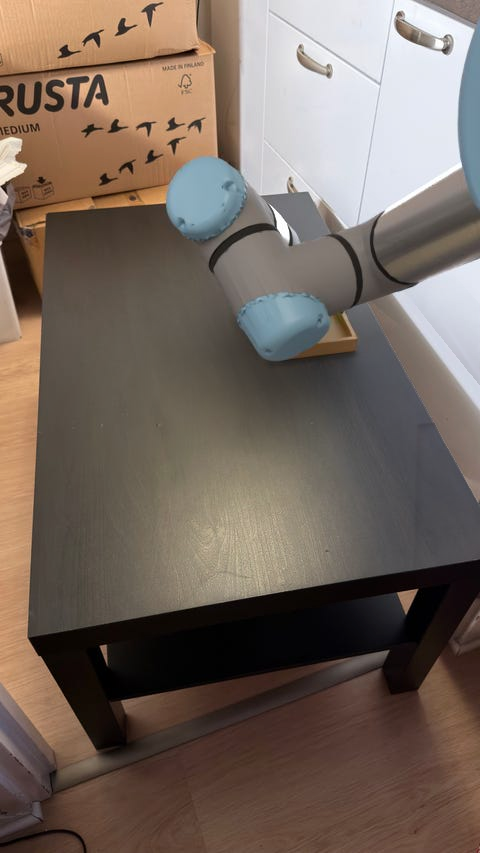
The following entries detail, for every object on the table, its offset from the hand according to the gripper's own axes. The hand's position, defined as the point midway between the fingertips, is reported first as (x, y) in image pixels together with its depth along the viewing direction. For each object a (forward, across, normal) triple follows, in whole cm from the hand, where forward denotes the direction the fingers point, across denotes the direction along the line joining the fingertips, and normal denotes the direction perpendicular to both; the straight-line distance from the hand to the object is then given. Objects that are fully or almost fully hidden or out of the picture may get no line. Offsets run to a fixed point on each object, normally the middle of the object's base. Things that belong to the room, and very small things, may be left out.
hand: (317, 293), depth 91 cm
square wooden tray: (+1, 0, -6) cm, 6 cm away
